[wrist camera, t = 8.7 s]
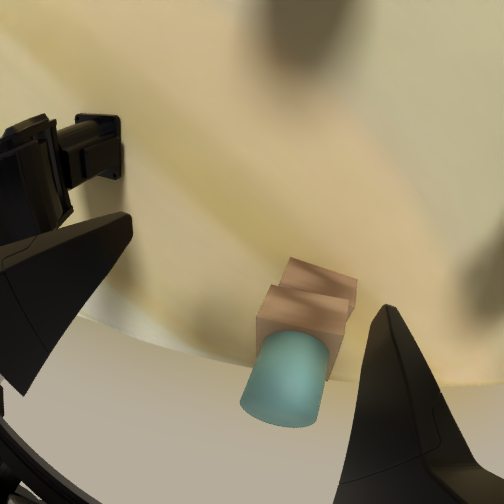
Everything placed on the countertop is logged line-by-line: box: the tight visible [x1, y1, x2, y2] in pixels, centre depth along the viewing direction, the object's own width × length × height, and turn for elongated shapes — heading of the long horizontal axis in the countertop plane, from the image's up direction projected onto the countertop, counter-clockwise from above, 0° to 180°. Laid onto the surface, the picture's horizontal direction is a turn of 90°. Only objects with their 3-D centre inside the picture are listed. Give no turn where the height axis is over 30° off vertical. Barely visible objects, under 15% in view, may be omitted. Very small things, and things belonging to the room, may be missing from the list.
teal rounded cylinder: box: [240, 331, 330, 428], centre depth 18 cm, size 5×5×5 cm
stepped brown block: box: [256, 285, 349, 381], centre depth 21 cm, size 6×6×4 cm
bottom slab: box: [279, 257, 357, 322], centre depth 24 cm, size 6×6×4 cm
